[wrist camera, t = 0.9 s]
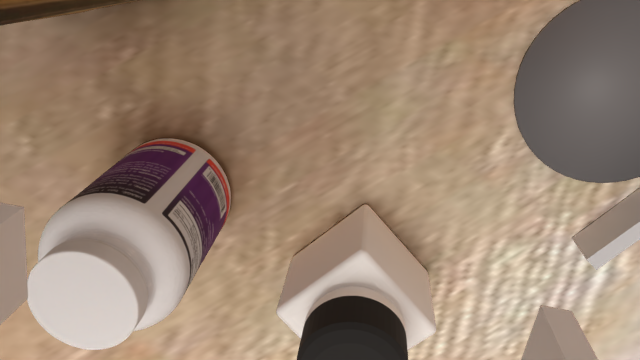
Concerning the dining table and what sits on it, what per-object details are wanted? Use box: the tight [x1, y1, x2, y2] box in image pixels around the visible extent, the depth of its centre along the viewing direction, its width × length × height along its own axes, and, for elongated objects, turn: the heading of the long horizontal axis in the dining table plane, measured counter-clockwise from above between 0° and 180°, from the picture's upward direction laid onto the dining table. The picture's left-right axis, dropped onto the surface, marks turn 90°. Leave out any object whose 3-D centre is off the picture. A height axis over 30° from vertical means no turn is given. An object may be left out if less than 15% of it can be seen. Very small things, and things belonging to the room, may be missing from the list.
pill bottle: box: [27, 138, 231, 350], centre depth 34 cm, size 8×8×14 cm
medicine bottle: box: [277, 205, 436, 360], centre depth 36 cm, size 7×7×12 cm
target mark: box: [514, 0, 640, 183], centre depth 35 cm, size 12×12×1 cm
